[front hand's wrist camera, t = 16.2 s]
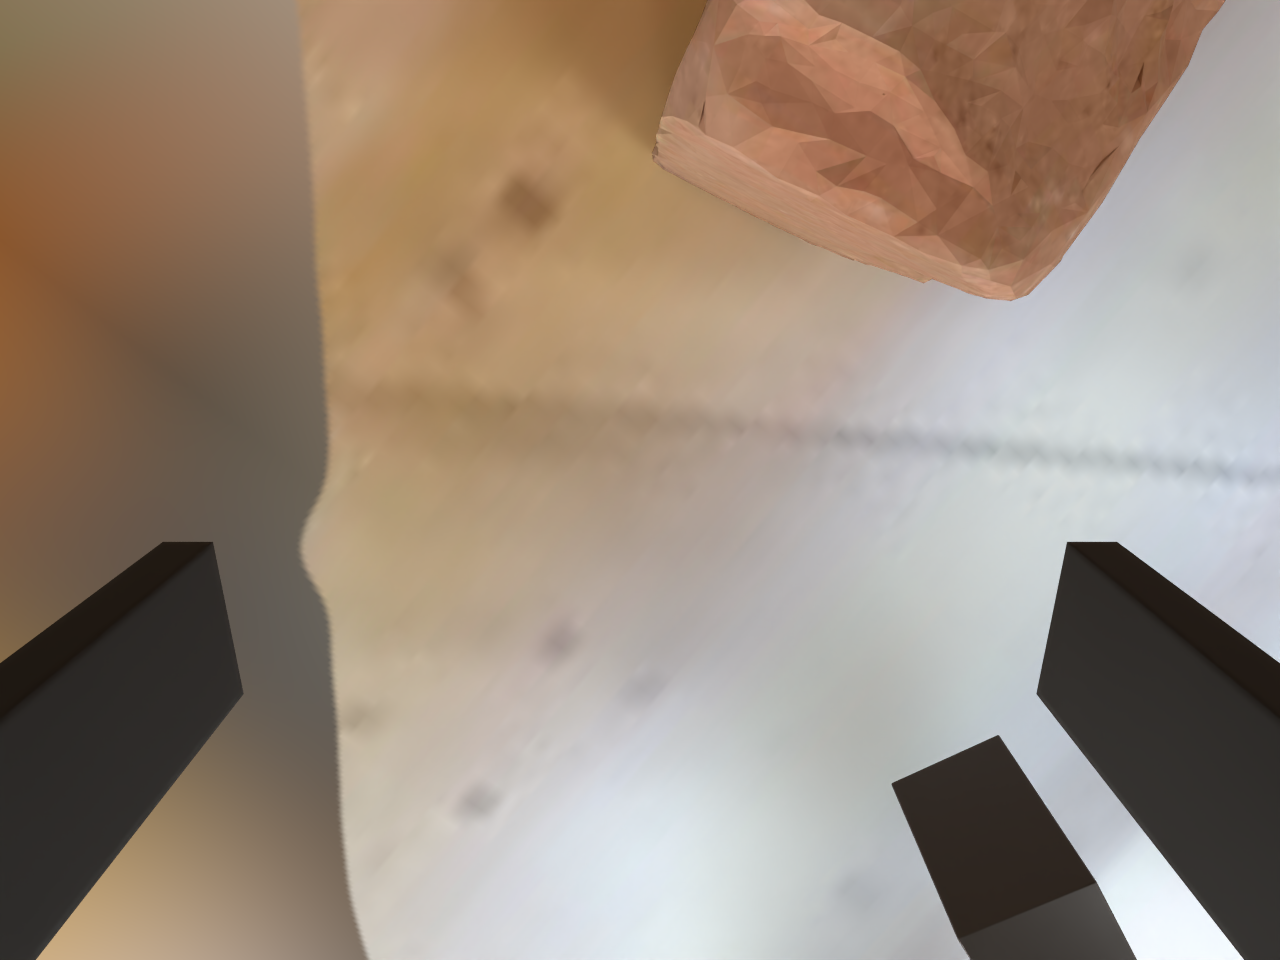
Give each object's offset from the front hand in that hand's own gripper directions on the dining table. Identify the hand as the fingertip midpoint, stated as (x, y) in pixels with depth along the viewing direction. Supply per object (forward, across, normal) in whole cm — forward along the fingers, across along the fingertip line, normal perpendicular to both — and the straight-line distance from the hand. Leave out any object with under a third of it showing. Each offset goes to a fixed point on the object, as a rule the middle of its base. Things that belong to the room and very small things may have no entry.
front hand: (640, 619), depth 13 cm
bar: (+22, +22, -32) cm, 45 cm away
